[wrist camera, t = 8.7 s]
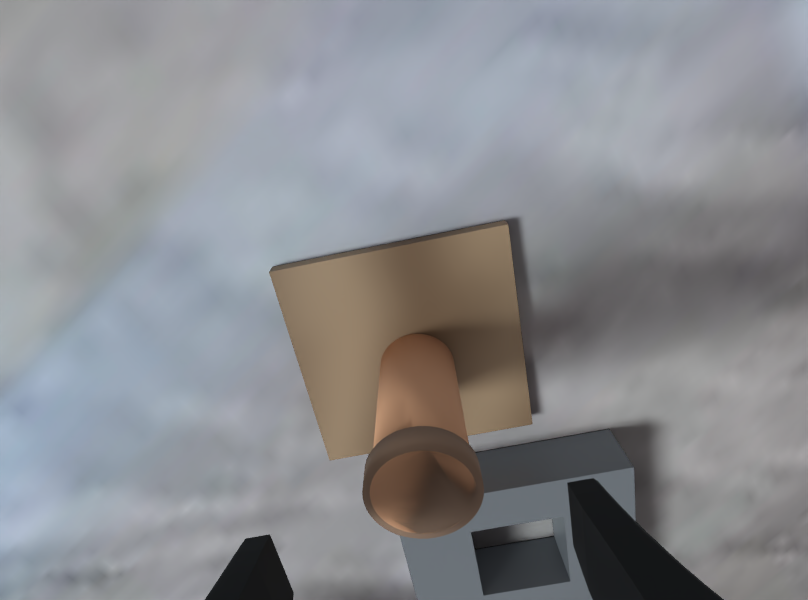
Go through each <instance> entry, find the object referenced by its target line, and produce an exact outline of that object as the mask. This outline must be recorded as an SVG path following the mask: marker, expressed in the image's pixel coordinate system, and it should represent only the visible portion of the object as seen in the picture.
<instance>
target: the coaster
mask: <svg viewBox="0 0 808 600" xmlns="http://www.w3.org/2000/svg"><path fill="white" fill-rule="evenodd" d="M269 273H270V276H271V279H272V283H273V286H274V289H275V292H276V295H277V298H278V301H279V304H280V307H281V310H282V314H283V317H284V320H285V323H286V326H287V329H288V332H289V335H290V338H291V342H292V345H293V348H294V351H295V354H296V357H297V360H298V363H299V366H300V370H301V373H302V376H303V379H304V382H305V385H306V388H307V391H308V394H309V397H310V401H311V404H312V407H313V410H314V413H315V416H316V419H317V422H318V425H319V429H320V432H321V435H322V438H323V441H324V444H325V447H326V450H327V453H328V456H329V460H335V459H341V458H346V457H352V456H358V455H363V454H369V453H370V452H371V451H372V449H373V446H374V434H375V423H376V411H377V399H378V388H379V376H380V364H381V359H382V356H383V353H384V352H385V350H386V349H387V347H388V346H389V345H390V344H391V343H392V342H394V341H395V340H397V339H398V338H400V337H403V336H406V335H410V334H426V335H430V336H433V337H435V338H437V339H439V340H440V341H442V342H443V343H444V344H445V345H446V346H447V347H448V348H449V350H450V352H451V354H452V356H453V359H454V364H455V370H456V376H457V381H458V387H459V392H460V398H461V403H462V409H463V414H464V420H465V426H466V431H467V436H469V435H475V434H480V433H486V432H492V431H497V430H503V429H508V428H514V427H519V426H525V425H531V424H532V416H531V408H530V399H529V391H528V383H527V375H526V367H525V358H524V350H523V342H522V334H521V325H520V317H519V309H518V301H517V293H516V284H515V276H514V268H513V260H512V252H511V243H510V235H509V227H508V224H507V222H506V221H505V220H504V221H499V222H494V223H489V224H484V225H479V226H474V227H469V228H464V229H459V230H454V231H449V232H444V233H439V234H434V235H429V236H424V237H419V238H414V239H409V240H404V241H399V242H394V243H389V244H384V245H379V246H374V247H369V248H364V249H359V250H354V251H349V252H344V253H339V254H334V255H329V256H324V257H319V258H314V259H309V260H304V261H299V262H294V263H289V264H284V265H279V266H274V267H272V268H271V270H270V272H269Z"/></svg>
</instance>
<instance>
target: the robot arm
mask: <svg viewBox="0 0 808 600" xmlns="http://www.w3.org/2000/svg"><path fill="white" fill-rule="evenodd" d="M567 485H568V496H569V506H570V517H571V527H572V538H573V546H574V549H575V552H576V555H577V558H578V561H579V564H580V567H581V570H582V573H583V576H584V578H585V581H586V584H587V587H588V590H589V592H590V594H591V597H592V599H593V600H724V599H722V598H721V597H720V596H718V595H717V594H716V593H715V592H714V591H712V590H711V589H710V588H709V587H707V586H706V585H705V584H704V583H703V582H702V581H700V580H699V579H698V578H697V577H696V576H695V575H693V574H692V573H691V572H690V571H689V570H687V569H686V568H685V567H684V566H683V565H682V564H681V563H679V562H678V561H677V560H676V559H675V558H674V557H673V556H672V555H671V554H669V553H668V552H667V551H666V550H665V549H664V548H663V547H662V546H661V545H660V544H659V543H658V542H657V541H656V540H655V539H653V538H652V537H651V536H650V535H649V534H648V533H647V532H646V531H645V530H644V529H643V528H642V527H641V526H640V525H639V524H638V523H637V522H636V521H635V520H634V519H633V518H632V517H631V516H630V515H629V514H628V513H627V512H626V511H625V510H624V509H623V508H622V507H621V506H620V505H619V504H618V503H617V502H616V500H615V499H614V498H613V497H612V496H611V495H610V494H609V493H608V492H607V491H606V490H605V488H604V487H603V486H602V485H601V484H600V483H599V482H598V481H597V480H596V479H594V478H591V479H585V480H579V481H573V482H568V483H567ZM293 594H294V593H293V590H292V588H291V585H290V583H289V580H288V578H287V575H286V573H285V571H284V568H283V566H282V563H281V561H280V558H279V556H278V553H277V551H276V548H275V546H274V543H273V541H272V539H271V536H270V535H264V536H258V537H253V538H247V539H245V540H244V542H243V543H242V545H241V546H240V548H239V549H238V550H237V552H236V553H235V555H234V556H233V558H232V559H231V561H230V563H229V564H228V566H227V567H226V569H225V570H224V572H223V573H222V575H221V576H220V578H219V579H218V581H217V582H216V584H215V585H214V587H213V588H212V590H211V591H210V593H209V594H208V596H207V597H206V599H205V600H293Z"/></svg>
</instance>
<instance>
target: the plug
mask: <svg viewBox="0 0 808 600" xmlns="http://www.w3.org/2000/svg"><path fill="white" fill-rule="evenodd" d="M362 493H363V501H364V504H365V507H366V509H367V511H368V513H369V514H370V516H371V517H372V518H373V519H374V520H375V521H376V522H377V523H378V524H379V525H380V526H382V527H383V528H385V529H386V530H388V531H390V532H392V533H395V534H397V535H400V536H404V537H409V538H417V539H428V538H436V537H441V536H444V535H448V534H450V533H453V532H455V531H457V530H459V529H460V528H462V527H463V526H465V525H466V524H467V523H469V522H470V521H471V520H472V519H473V517H474V516H475V515H476V514H477V512H478V510H479V509H480V507H481V504H482V501H483V497H484V485H483V480H482V475H481V470H480V464H479V461H478V458H477V456H476V453H475V452H474V450H473V449H472V447H471V446H470V445H469V442H468V437H467V431H466V426H465V420H464V414H463V409H462V403H461V398H460V392H459V387H458V381H457V376H456V370H455V364H454V359H453V356H452V354H451V352H450V350H449V348H448V347H447V346H446V345H445V344H444V343H443V342H442V341H440V340H439V339H437V338H435V337H433V336H430V335H426V334H410V335H406V336H403V337H400V338H398V339H397V340H395V341H394V342H392V343H391V344H390V345H389V346H388V347H387V349H386V350H385V352H384V353H383V356H382V359H381V364H380V376H379V388H378V399H377V411H376V423H375V434H374V446H373V449H372V451H371V452H370V454H369V456H368V458H367V460H366V464H365V471H364V481H363V491H362Z"/></svg>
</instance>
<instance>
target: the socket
mask: <svg viewBox="0 0 808 600" xmlns="http://www.w3.org/2000/svg"><path fill="white" fill-rule="evenodd" d="M476 456H477V458H478V461H479V464H480V470H481V475H482V480H483V485H484V497H483V501H482V504H481V507H480V509H479V510H478V512H477V514H476V515H475V516H474V517H473V519H472V520H471V521H470V522H469V523H467V524H466V525H465V526H463V527H462V528H460V529H459V530H457V531H455V532H453V533H450V534H448V535H444V536H441V537H436V538H428V539H417V538H409V537H404V536H400V538H401V542H402V546H403V549H404V553H405V557H406V560H407V564H408V567H409V571H410V575H411V578H412V582H413V586H414V589H415V593H416V597H417V600H593V599H592V597H591V594H590V592H589V590H588V587H587V584H586V581H585V578H584V576H583V573H582V570H581V567H580V564H579V561H578V558H577V555H576V552H575V549H574V546H573V538H572V527H571V517H570V506H569V496H568V485H567V483H568V482H573V481H579V480H585V479H591V478H594V479H596V480H597V481H598V482H599V483H600V484H601V485H602V486H603V487H604V488H605V490H606V491H607V492H608V493H609V494H610V495H611V496H612V497H613V498H614V499H615V500H616V502H617V503H618V504H619V505H620V506H621V507H622V508H623V509H624V510H625V511H626V512H627V513H628V514H629V515H630V516H631V517H632V518H633V519H634V520H635V521H636V519H635V483H634V467H633V465H632V463H631V462H630V460H629V459H628V457H627V456H626V454H625V452H624V451H623V449H622V448H621V446H620V445H619V443H618V442H617V440H616V438H615V437H614V435H613V434H612V432H611V431H610V429H607V430H602V431H596V432H590V433H585V434H579V435H573V436H568V437H562V438H557V439H551V440H545V441H540V442H534V443H528V444H523V445H517V446H511V447H506V448H500V449H494V450H489V451H483V452H478V453H476ZM551 518H552V522H553V531H554V537H548V538H543V539H537V540H531V541H525V542H519V543H513V544H507V545H501V546H495V547H489V548H483V549H477V550H475V547H474V542H473V537H472V532H474V531H480V530H486V529H492V528H498V527H504V526H510V525H516V524H522V523H527V522H533V521H539V520H545V519H551Z"/></svg>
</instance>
